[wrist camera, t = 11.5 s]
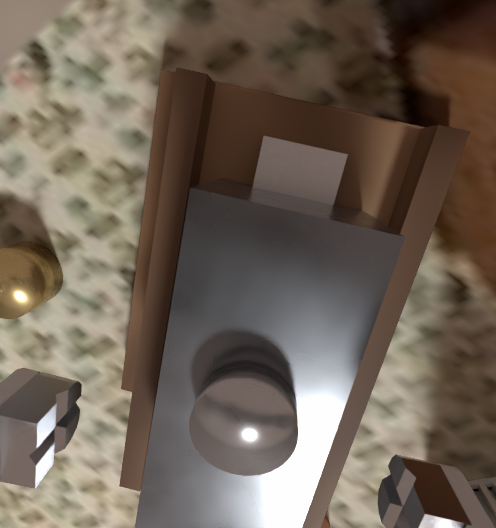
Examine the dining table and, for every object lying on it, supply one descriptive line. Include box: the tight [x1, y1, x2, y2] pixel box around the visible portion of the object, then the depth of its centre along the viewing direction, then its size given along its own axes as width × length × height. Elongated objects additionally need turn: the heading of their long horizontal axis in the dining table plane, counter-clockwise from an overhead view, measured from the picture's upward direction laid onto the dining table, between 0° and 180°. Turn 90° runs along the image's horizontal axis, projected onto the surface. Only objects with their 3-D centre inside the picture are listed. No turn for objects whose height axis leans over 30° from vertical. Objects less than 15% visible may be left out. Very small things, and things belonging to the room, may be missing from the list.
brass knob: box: [0, 241, 63, 319], centre depth 23 cm, size 4×4×3 cm
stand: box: [120, 68, 470, 528], centre depth 18 cm, size 16×20×10 cm
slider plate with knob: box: [135, 136, 405, 528], centre depth 12 cm, size 16×6×6 cm, turn 168°
